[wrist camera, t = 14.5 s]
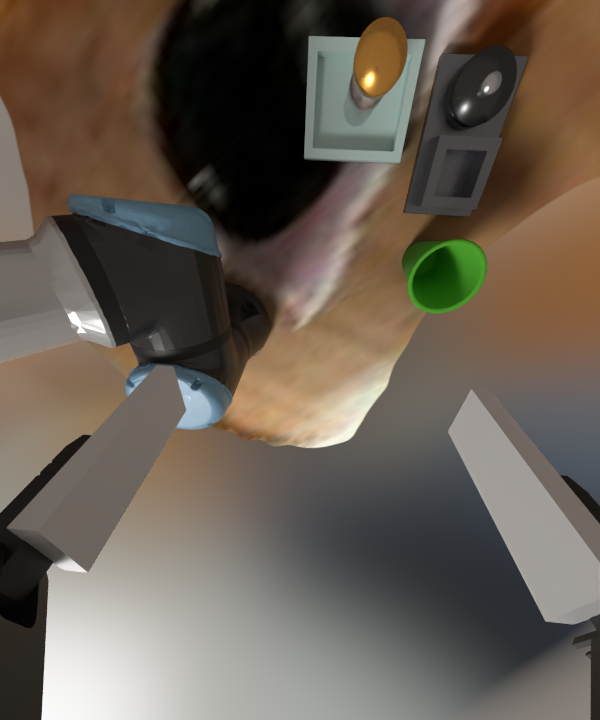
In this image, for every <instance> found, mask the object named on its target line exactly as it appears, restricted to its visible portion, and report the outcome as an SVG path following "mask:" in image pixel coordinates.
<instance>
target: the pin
mask: <svg viewBox="0 0 600 720" xmlns="http://www.w3.org/2000/svg"><path fill="white" fill-rule="evenodd" d="M407 52H408V45H407V38H406V34H405V31H404V29H403V27H402V26H401V25H400V23H399V22H398V21H396V20H395V19H393V18H390V17H383V18H379V19H377V20H375V21H374V22H372V23H371V24H370V25H369V26H368V27H367V28H366V29H365V31H364V32H363V34H362V36H361V37H360V40H359V42H358V45H357V48H356V52H355V56H354V61H353V73H352V77H351V80H350V84H349V88H348V91H347V95H346V99H345V102H344V116H345V119H346V121H347V122H348V123H349V124H350V125H352V126H360V125H362V124H364V123H365V122H366V121H367V120H368V118H369V117H370V115H371V114H372V112H373V111H374V109H375V108H376V107H377V105H378V104H379V102H380V101H381V99H382V98H383V96H384V95H385V94H387V93H388V92H389V91H390V90H391V89H392V88H393V86H394V85H395V84H396V82H397V81H398V79H399V78H400V76H401V74H402V72H403V70H404V67H405V64H406V60H407Z"/></svg>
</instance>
